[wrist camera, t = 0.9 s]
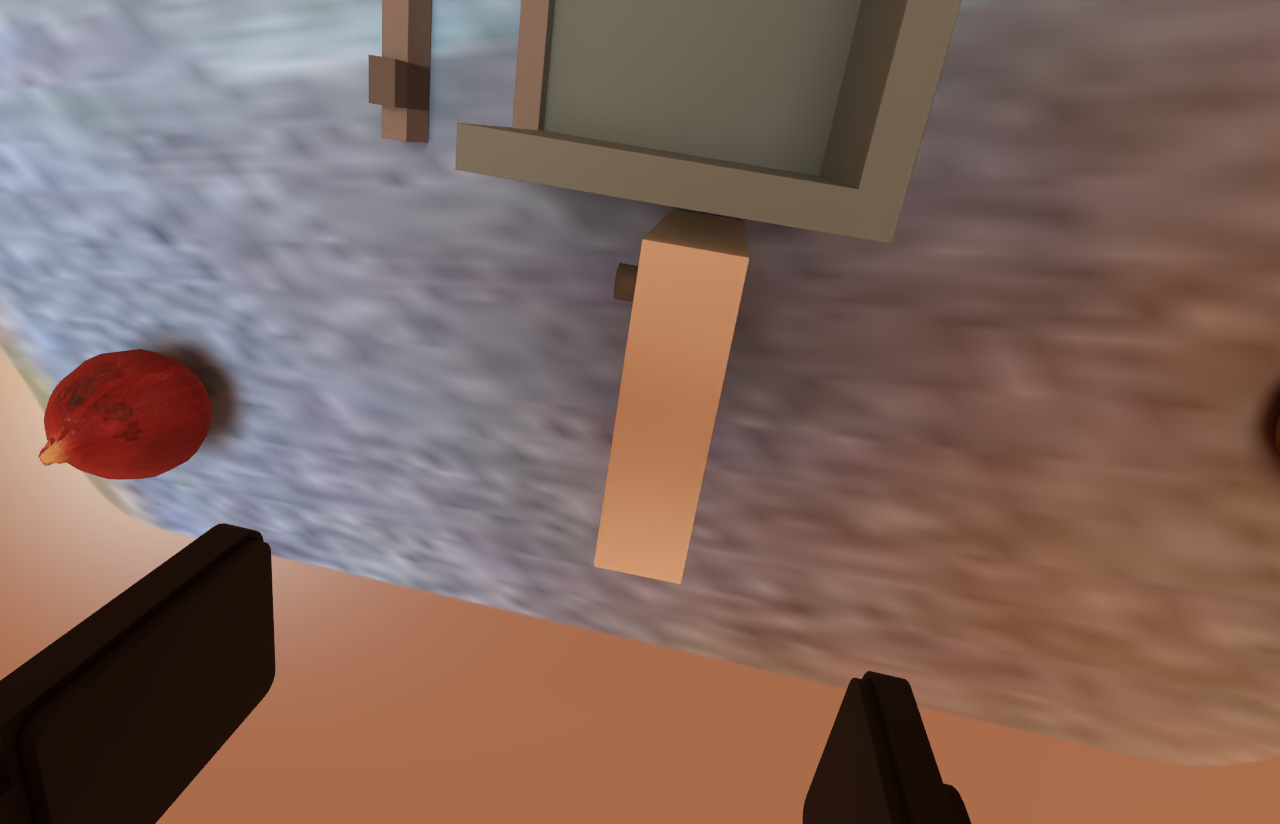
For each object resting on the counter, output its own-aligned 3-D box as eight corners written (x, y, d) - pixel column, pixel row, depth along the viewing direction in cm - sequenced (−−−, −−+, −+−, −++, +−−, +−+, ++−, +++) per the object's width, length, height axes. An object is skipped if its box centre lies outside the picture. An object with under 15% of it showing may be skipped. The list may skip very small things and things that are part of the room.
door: (744, 221, 28) (749, 257, 19) (696, 458, 32) (680, 584, 23) (649, 204, 28) (607, 233, 19) (613, 442, 32) (564, 560, 23)
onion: (140, 317, 33) (-31, 365, 26) (251, 352, 33) (111, 411, 26) (141, 421, 35) (-16, 493, 28) (245, 454, 35) (115, 536, 28)
